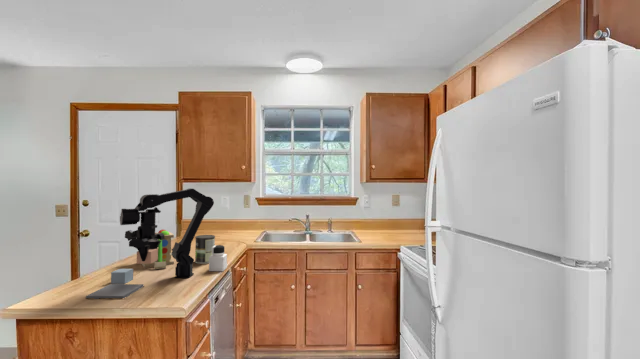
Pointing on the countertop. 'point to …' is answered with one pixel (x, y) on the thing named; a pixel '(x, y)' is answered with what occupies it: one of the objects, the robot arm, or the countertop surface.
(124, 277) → the slate-grey brick
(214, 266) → the medicine bottle
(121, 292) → the base plate
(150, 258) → the terracotta brick
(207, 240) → the coffee can
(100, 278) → the countertop surface
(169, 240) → the pounding bench toy
